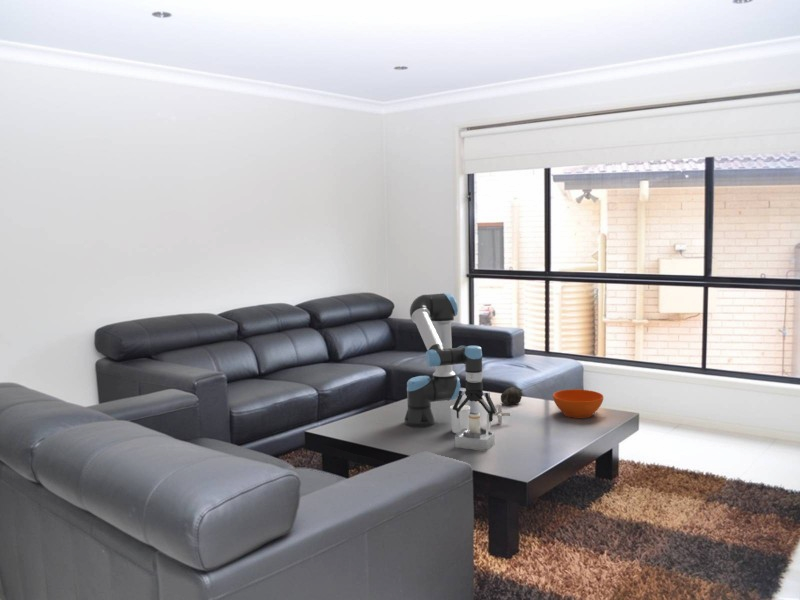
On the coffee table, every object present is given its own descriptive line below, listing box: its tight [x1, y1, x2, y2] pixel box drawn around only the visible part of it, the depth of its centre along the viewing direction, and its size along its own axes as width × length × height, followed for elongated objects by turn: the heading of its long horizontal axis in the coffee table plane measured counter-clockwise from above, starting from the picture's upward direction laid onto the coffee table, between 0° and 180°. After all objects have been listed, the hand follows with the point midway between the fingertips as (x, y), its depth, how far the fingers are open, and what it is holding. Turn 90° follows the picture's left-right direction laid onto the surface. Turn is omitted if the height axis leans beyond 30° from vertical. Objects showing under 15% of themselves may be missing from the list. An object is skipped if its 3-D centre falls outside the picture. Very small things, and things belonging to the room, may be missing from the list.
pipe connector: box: [493, 403, 511, 425], centre depth 359 cm, size 10×10×10 cm
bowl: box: [552, 388, 604, 419], centre depth 371 cm, size 25×25×10 cm
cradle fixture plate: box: [454, 426, 496, 452], centre depth 327 cm, size 15×11×7 cm
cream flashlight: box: [469, 411, 481, 435], centre depth 326 cm, size 5×5×10 cm
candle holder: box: [449, 403, 471, 434], centre depth 349 cm, size 10×10×12 cm
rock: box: [500, 386, 523, 406], centre depth 395 cm, size 10×11×10 cm
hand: (474, 426), depth 326 cm, fingers open, 13 cm apart
